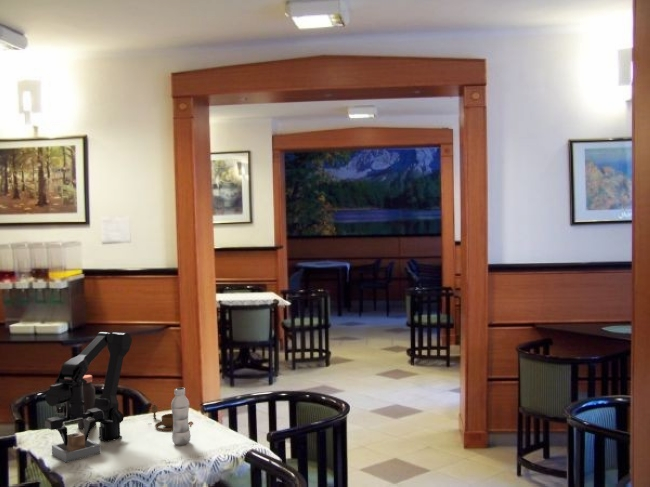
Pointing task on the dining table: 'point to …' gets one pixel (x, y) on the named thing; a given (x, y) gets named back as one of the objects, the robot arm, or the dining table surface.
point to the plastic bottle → (180, 417)
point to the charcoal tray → (62, 453)
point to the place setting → (164, 420)
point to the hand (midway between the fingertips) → (75, 442)
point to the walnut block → (75, 441)
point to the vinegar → (87, 398)
